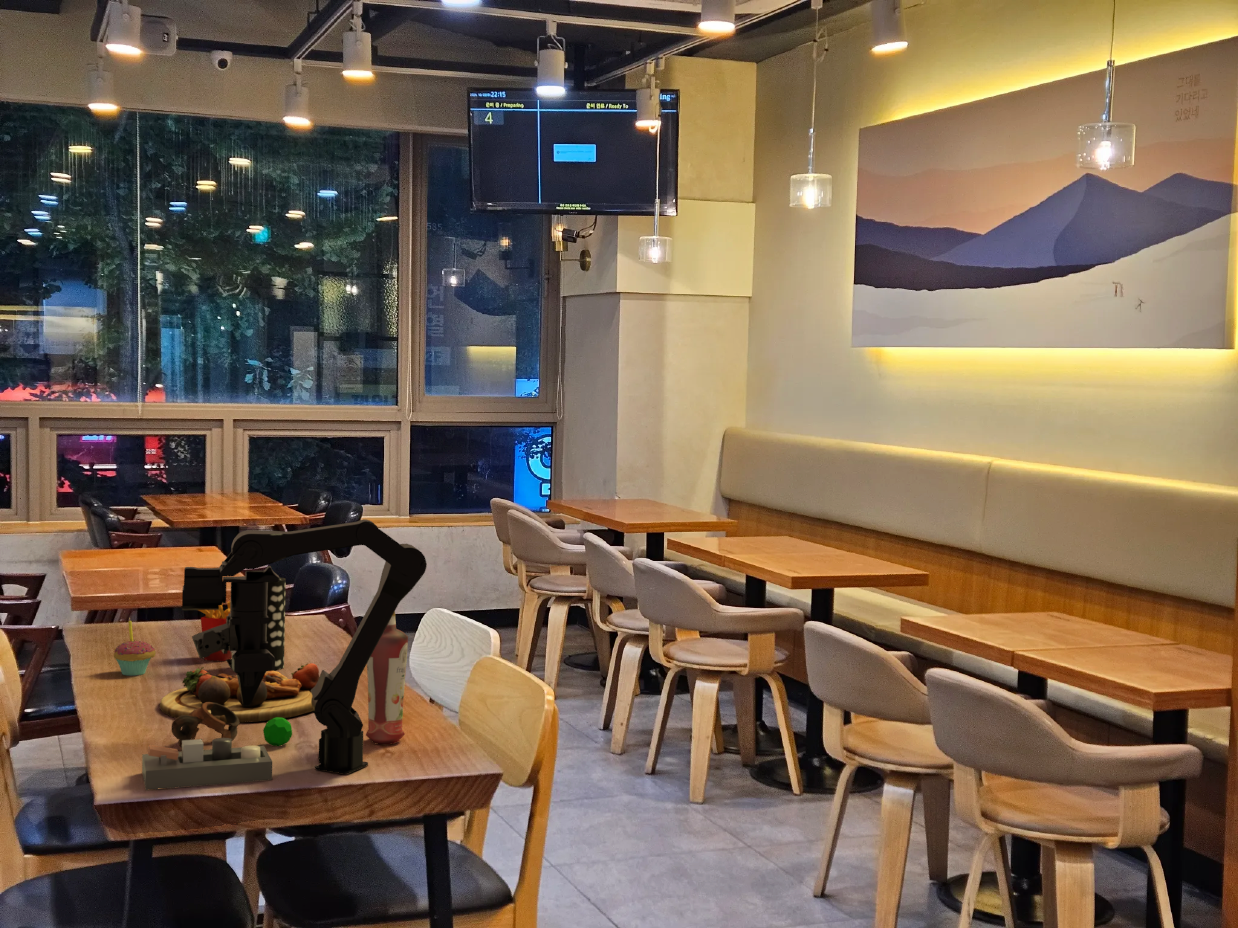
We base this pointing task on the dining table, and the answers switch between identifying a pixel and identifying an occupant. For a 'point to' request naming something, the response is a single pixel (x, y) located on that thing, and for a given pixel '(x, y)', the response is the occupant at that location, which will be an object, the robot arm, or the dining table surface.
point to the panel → (205, 770)
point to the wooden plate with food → (268, 703)
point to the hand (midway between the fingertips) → (246, 705)
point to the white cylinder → (250, 752)
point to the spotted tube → (276, 621)
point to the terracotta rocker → (163, 752)
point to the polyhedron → (277, 731)
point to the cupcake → (133, 655)
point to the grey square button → (192, 751)
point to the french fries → (213, 621)
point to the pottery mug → (205, 722)
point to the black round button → (221, 749)
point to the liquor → (387, 686)
